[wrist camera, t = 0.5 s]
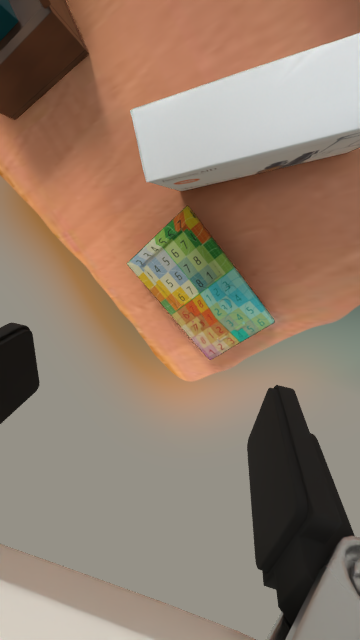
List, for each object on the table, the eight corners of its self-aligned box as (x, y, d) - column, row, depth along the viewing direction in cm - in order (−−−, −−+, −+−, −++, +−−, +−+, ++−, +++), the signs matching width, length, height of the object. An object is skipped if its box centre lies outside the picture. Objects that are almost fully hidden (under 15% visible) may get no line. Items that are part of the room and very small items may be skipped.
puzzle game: (209, 363, 38) (123, 264, 34) (211, 348, 42) (135, 259, 38) (276, 324, 33) (185, 205, 29) (271, 312, 38) (191, 206, 34)
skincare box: (180, 196, 33) (142, 184, 19) (172, 151, 31) (124, 98, 17) (351, 157, 28) (475, 100, 14) (355, 99, 26) (505, -36, 12)
